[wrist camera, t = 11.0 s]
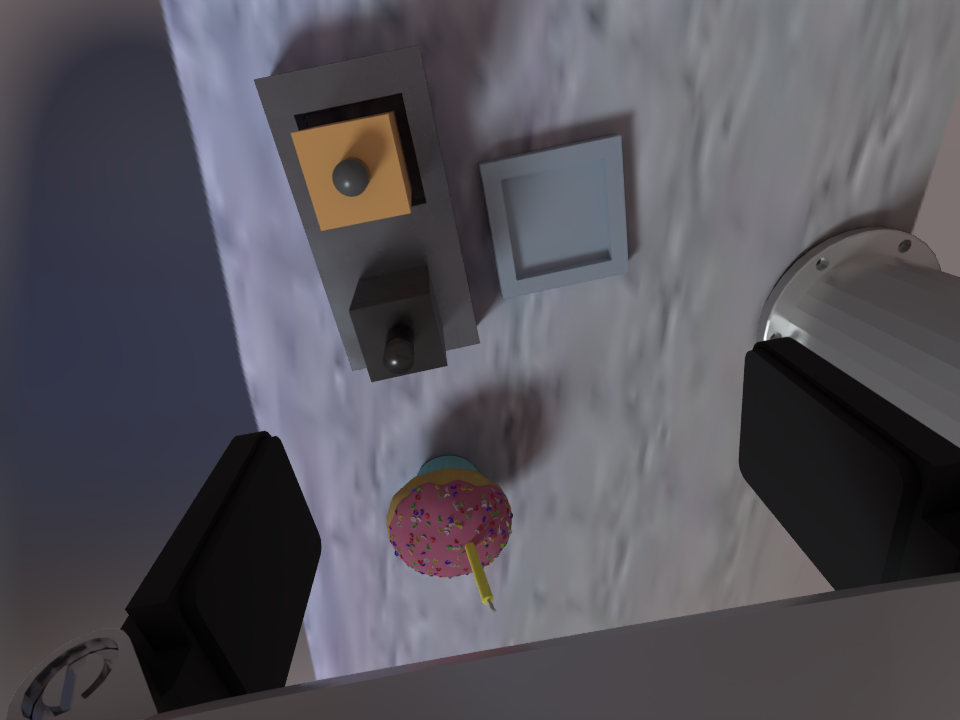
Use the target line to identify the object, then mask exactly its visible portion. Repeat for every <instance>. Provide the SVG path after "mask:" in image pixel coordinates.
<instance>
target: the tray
mask: <svg viewBox="0 0 960 720" xmlns="http://www.w3.org/2000/svg"><path fill="white" fill-rule="evenodd" d="M478 167H479V173H480V179H481V184H482V190H483V196H484V202H485V207H486V213H487V219H488V224H489V230H490V236H491V241H492V247H493V253H494V258H495V264H496V270H497V275H498V281H499V287H500V293H501V295H502V297H503V299H507V298H512V297H516V296H521V295H526V294H530V293H535V292H540V291H544V290H549V289H554V288H558V287H563V286H568V285H572V284H577V283H582V282H586V281H591V280H596V279H600V278H605V277H610V276H614V275H619V274H624V273H628V272H629V267H628V248H627V230H626V212H625V194H624V176H623V158H622V139H621V135H617V134H612V135H607V136H602V137H598V138H593V139H588V140H583V141H579V142H574V143H569V144H564V145H560V146H555V147H550V148H545V149H541V150H536V151H531V152H526V153H522V154H517V155H512V156H507V157H503V158H498V159H493V160H488V161H483V162H479V163H478Z"/></svg>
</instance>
